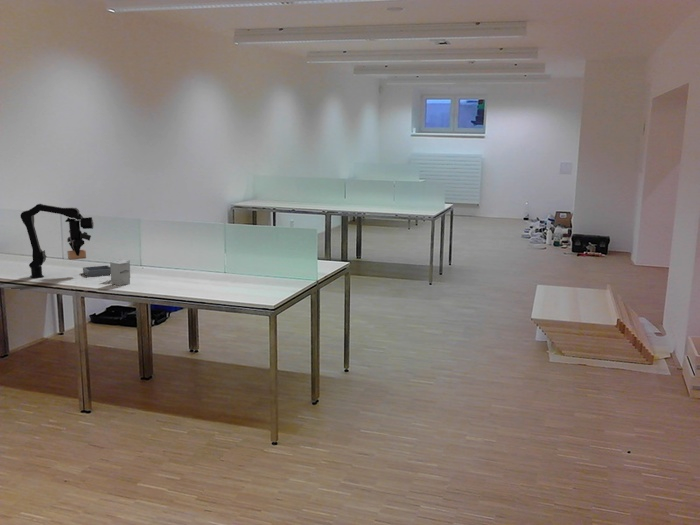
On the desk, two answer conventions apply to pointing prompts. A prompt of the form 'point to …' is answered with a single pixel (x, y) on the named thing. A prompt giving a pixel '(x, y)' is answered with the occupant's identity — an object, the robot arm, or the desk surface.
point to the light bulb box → (122, 260)
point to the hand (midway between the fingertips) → (76, 255)
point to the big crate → (97, 271)
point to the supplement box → (120, 273)
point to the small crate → (76, 255)
